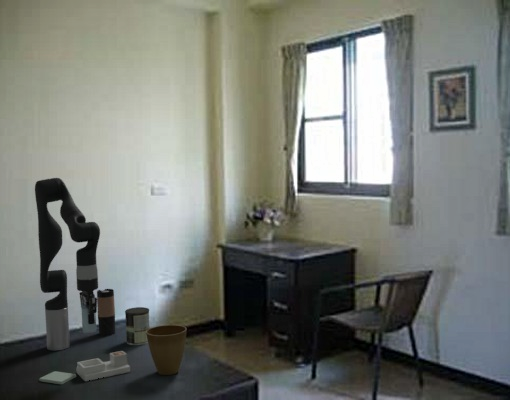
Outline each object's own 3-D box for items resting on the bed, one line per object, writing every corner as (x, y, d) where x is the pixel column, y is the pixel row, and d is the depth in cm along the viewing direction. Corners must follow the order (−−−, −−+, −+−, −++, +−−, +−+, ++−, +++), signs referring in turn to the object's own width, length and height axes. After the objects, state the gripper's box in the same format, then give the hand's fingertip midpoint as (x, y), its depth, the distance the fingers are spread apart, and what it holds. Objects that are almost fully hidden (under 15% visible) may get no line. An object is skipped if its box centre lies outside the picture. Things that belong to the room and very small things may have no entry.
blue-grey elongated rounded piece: (80, 330, 229) (79, 304, 228) (94, 328, 232) (93, 302, 231) (84, 334, 225) (83, 306, 224) (98, 331, 227) (97, 304, 227)
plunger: (113, 362, 235) (113, 353, 235) (121, 360, 237) (120, 351, 236) (116, 364, 233) (115, 355, 232) (123, 363, 234) (123, 353, 234)
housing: (76, 372, 232) (75, 357, 231) (120, 363, 241) (119, 348, 240) (85, 381, 223) (84, 365, 222) (130, 371, 231) (129, 356, 231)
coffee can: (122, 345, 265) (121, 312, 264) (131, 338, 275) (129, 307, 274) (146, 345, 264) (144, 313, 263) (153, 338, 274) (152, 307, 273)
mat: (39, 381, 224) (39, 378, 224) (54, 373, 232) (54, 371, 231) (61, 384, 220) (61, 381, 220) (76, 376, 228) (76, 374, 227)
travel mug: (111, 336, 279) (109, 292, 278) (95, 335, 281) (93, 292, 279) (118, 331, 287) (116, 288, 285) (103, 331, 288) (101, 288, 287)
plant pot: (194, 367, 235) (193, 325, 234) (177, 380, 221) (175, 336, 220) (159, 363, 240) (157, 323, 239) (140, 376, 226) (138, 333, 225)
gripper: (71, 274, 231) (73, 319, 232) (82, 281, 219) (84, 328, 220) (91, 272, 235) (93, 316, 236) (103, 278, 223) (105, 324, 224)
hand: (89, 322), depth 228 cm, fingers closed on blue-grey elongated rounded piece, 5 cm apart
